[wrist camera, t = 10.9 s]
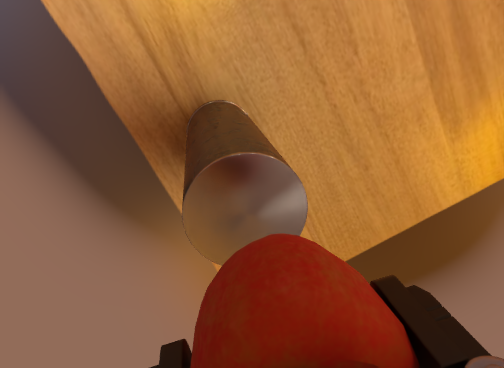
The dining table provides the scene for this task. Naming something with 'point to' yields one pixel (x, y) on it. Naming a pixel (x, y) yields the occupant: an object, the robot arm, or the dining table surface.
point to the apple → (295, 313)
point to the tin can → (236, 184)
